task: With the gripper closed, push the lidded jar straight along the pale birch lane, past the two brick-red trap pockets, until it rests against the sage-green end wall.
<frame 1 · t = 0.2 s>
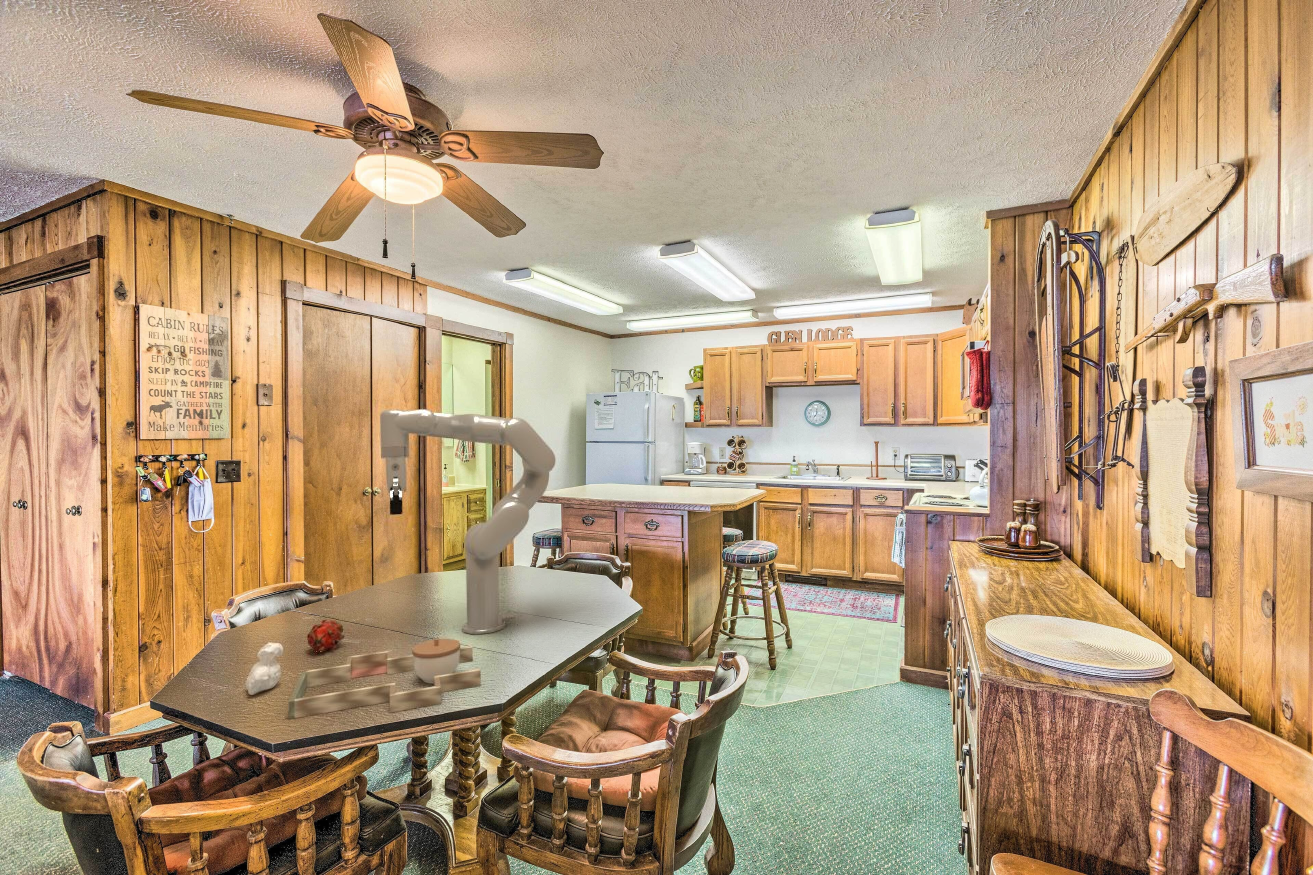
hand: (396, 512, 170), 37 cm above the table, tool pointing down, fingers open, 9 cm apart
dragon fruit: (325, 650, 163), on the table
duck figurine: (264, 688, 137), on the table
lidded jar: (437, 679, 141), on the table
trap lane: (391, 685, 137), on the table
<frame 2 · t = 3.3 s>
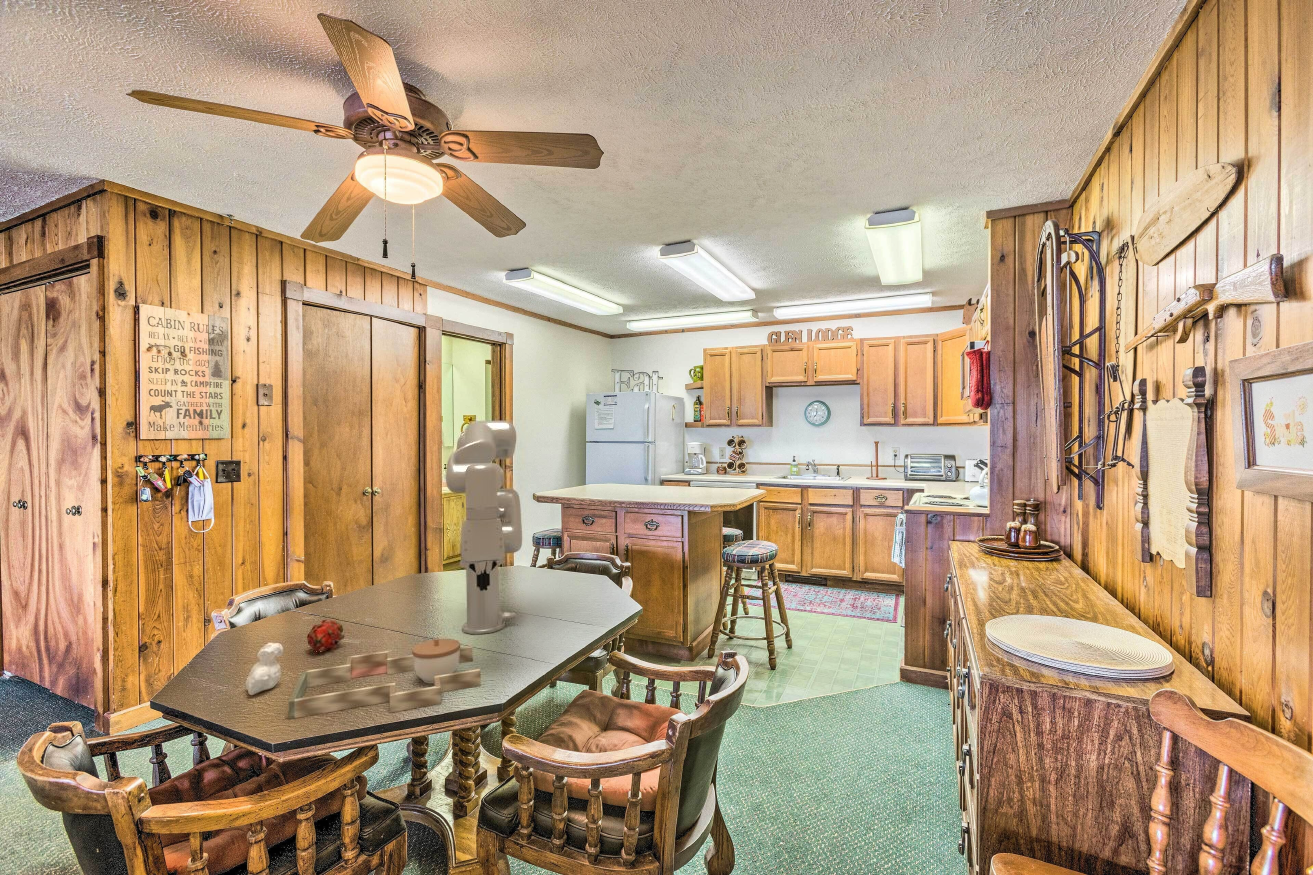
hand: (483, 589, 145), 20 cm above the table, tool pointing down, fingers closed
nothing on the table moved.
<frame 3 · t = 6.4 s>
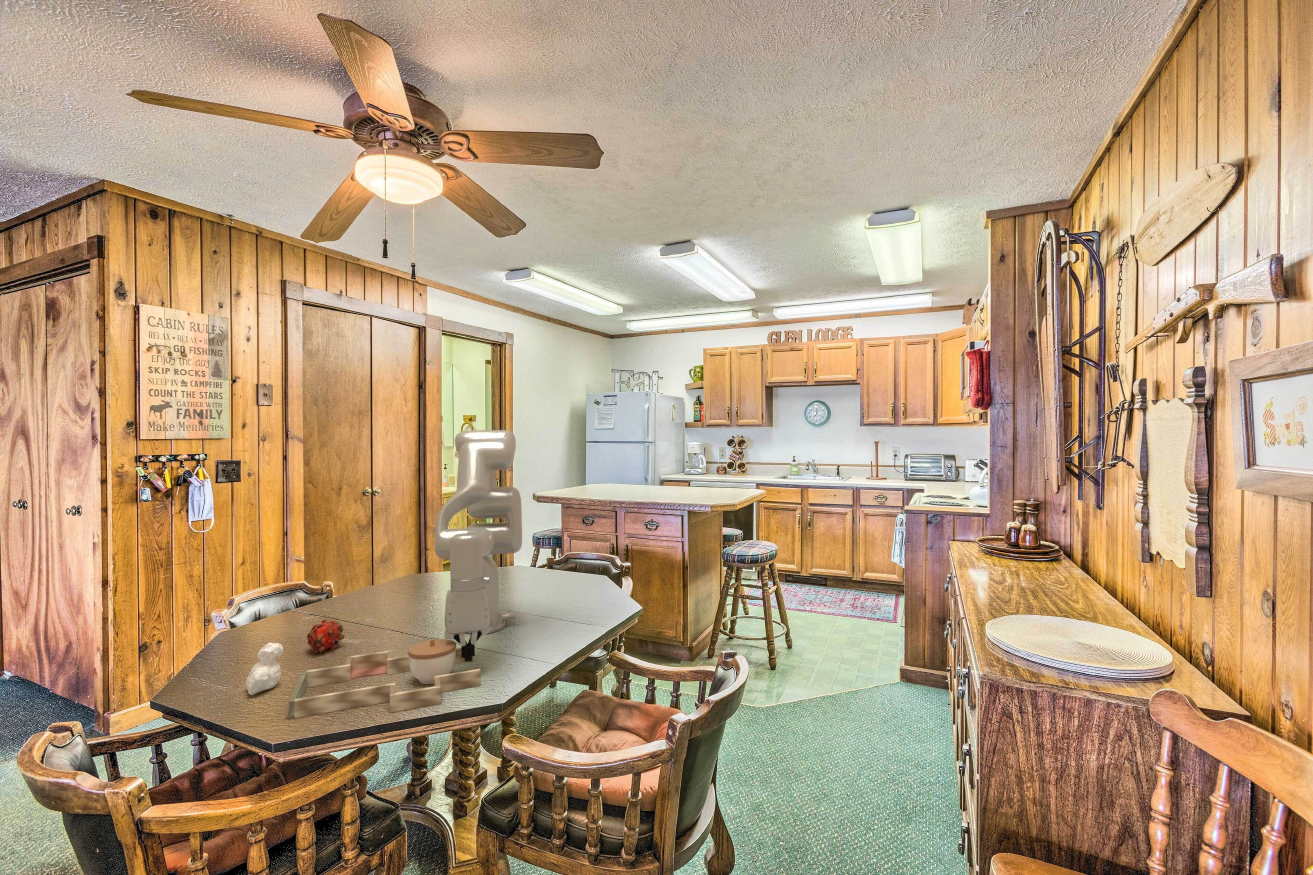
hand: (468, 659, 144), 3 cm above the table, tool pointing down, fingers closed
lidded jar: (433, 679, 141), on the table, touching gripper
everything else where it was.
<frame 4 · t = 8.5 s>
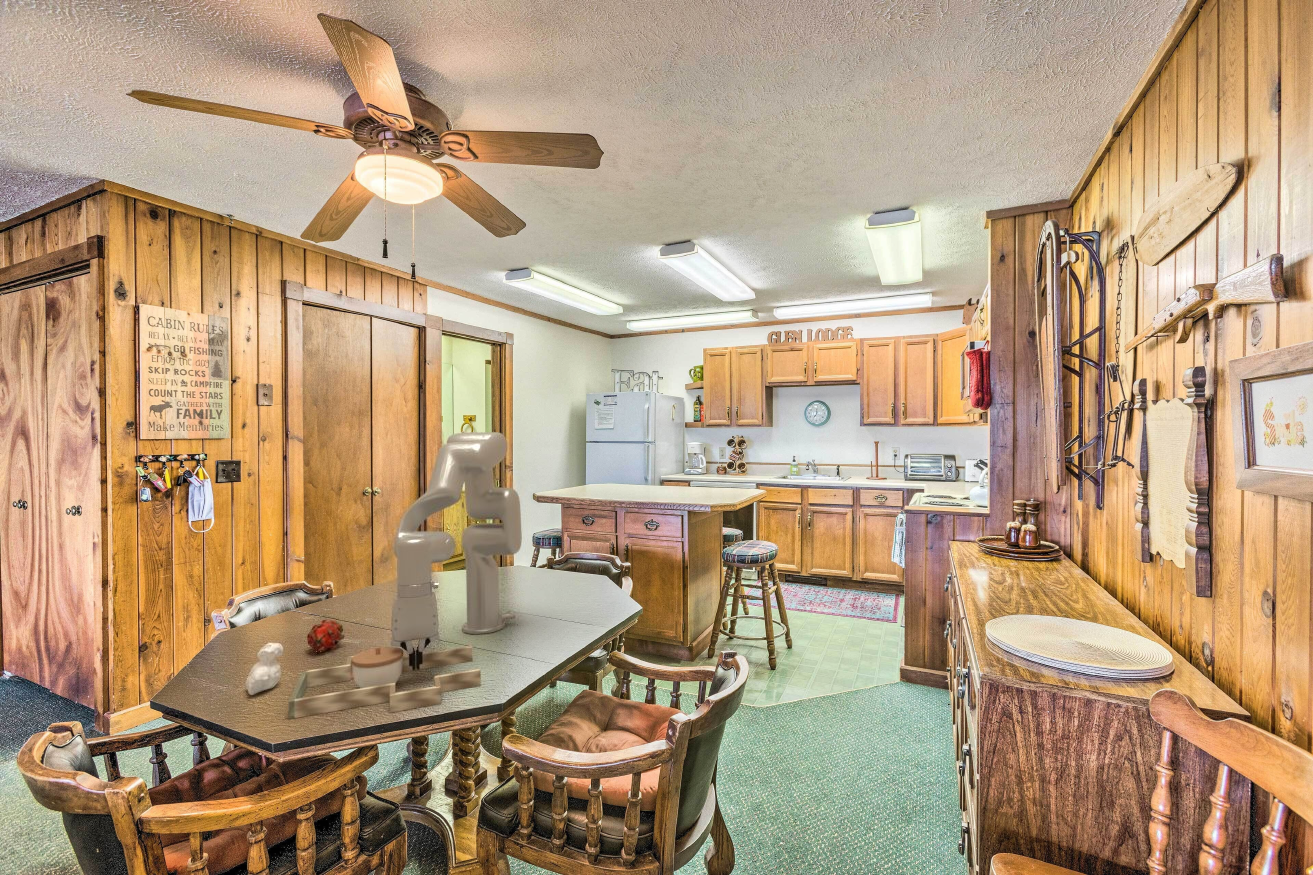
hand: (415, 667, 139), 3 cm above the table, tool pointing down, fingers closed
lidded jar: (378, 688, 136), on the table, touching gripper
everything else where it was.
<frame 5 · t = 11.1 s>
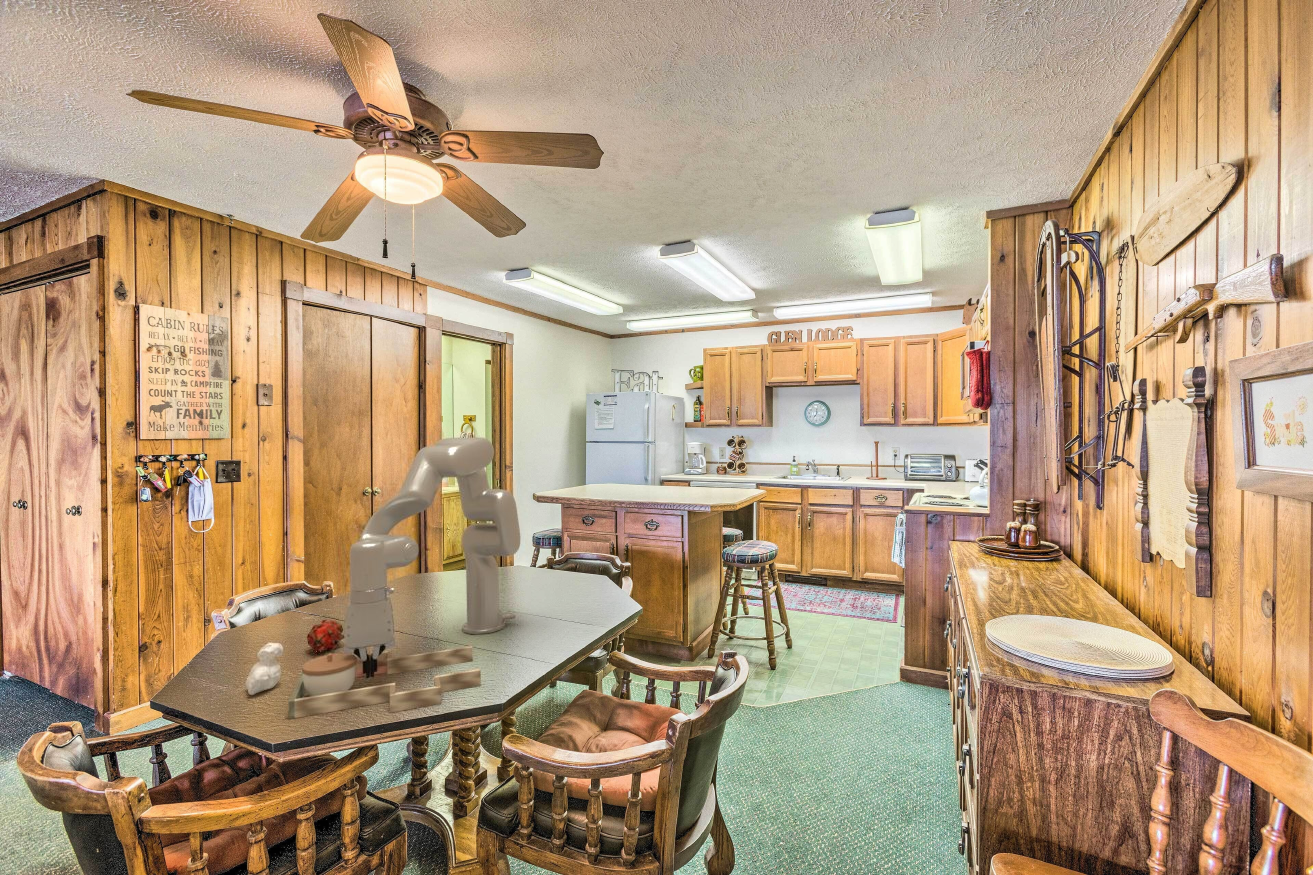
hand: (370, 675, 135), 3 cm above the table, tool pointing down, fingers closed
lidded jar: (330, 697, 132), on the table, touching gripper
everything else where it was.
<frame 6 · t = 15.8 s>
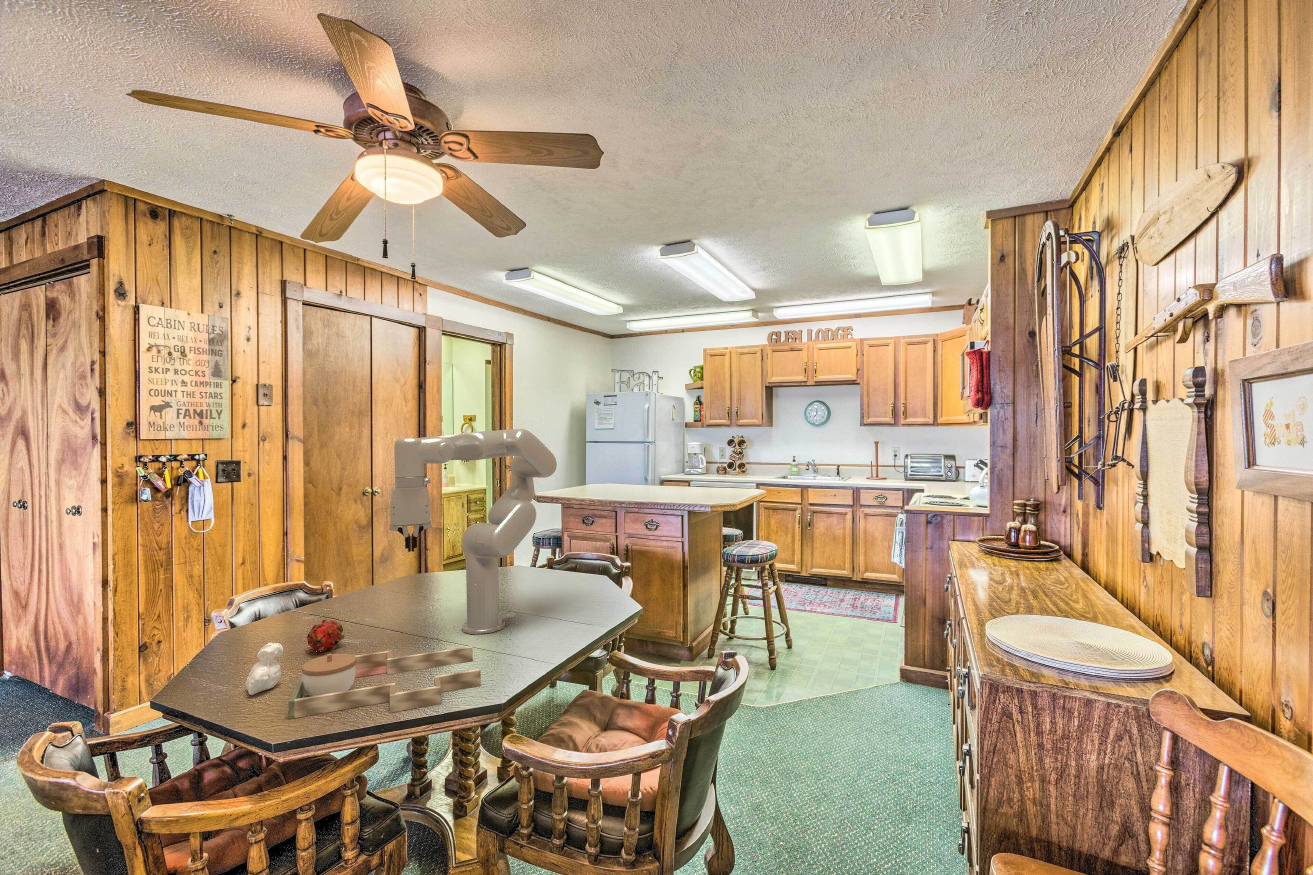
hand: (411, 550, 160), 27 cm above the table, tool pointing down, fingers closed
lidded jar: (330, 697, 132), on the table
everything else where it was.
at the end: lidded jar inside the target area (0.4 cm from its centre), on the table; lidded jar tilted 0°; lidded jar moved 22.4 cm from its start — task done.
